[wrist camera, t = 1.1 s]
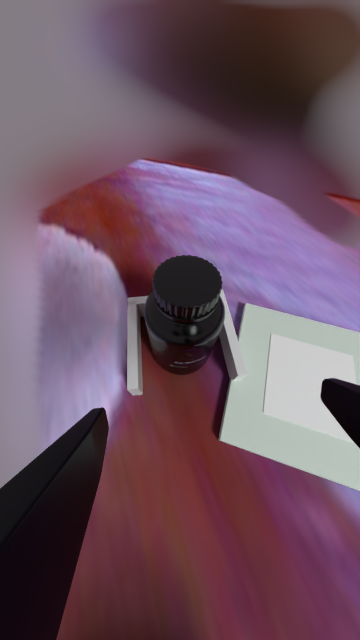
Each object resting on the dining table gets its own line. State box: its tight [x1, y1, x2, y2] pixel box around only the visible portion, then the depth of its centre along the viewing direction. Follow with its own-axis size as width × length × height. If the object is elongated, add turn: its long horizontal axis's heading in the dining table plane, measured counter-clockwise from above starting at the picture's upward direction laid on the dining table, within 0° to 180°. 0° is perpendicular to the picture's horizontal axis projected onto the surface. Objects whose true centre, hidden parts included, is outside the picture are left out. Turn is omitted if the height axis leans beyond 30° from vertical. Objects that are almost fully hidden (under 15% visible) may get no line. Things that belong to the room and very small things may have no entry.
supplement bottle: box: [144, 255, 225, 375], centre depth 19 cm, size 7×7×12 cm
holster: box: [127, 289, 248, 396], centre depth 23 cm, size 10×12×3 cm
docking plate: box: [218, 303, 360, 491], centre depth 21 cm, size 16×16×1 cm
